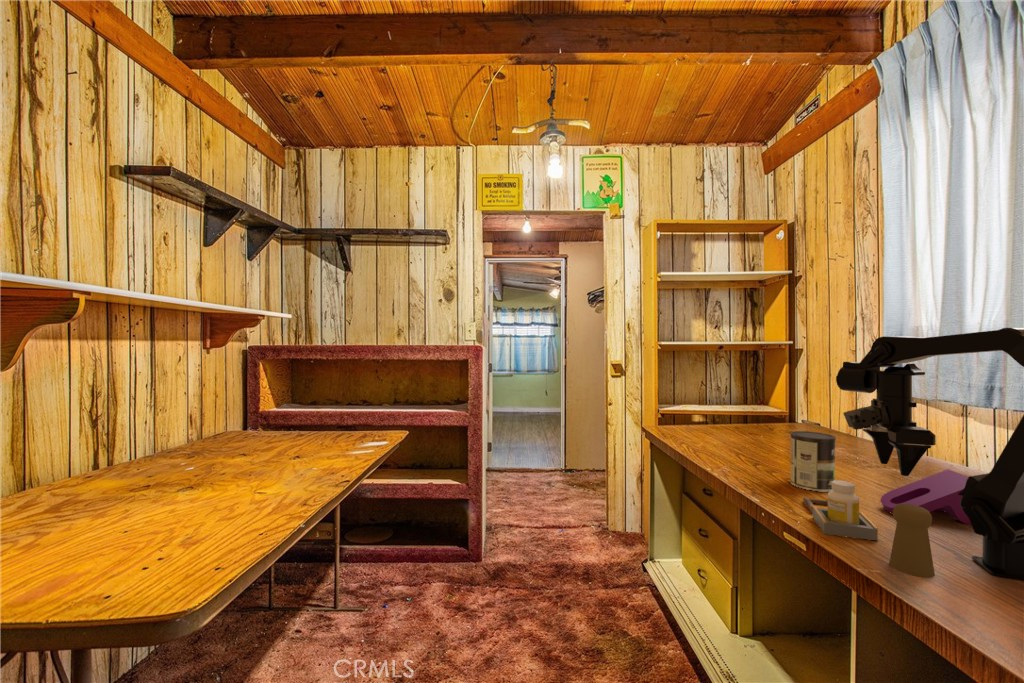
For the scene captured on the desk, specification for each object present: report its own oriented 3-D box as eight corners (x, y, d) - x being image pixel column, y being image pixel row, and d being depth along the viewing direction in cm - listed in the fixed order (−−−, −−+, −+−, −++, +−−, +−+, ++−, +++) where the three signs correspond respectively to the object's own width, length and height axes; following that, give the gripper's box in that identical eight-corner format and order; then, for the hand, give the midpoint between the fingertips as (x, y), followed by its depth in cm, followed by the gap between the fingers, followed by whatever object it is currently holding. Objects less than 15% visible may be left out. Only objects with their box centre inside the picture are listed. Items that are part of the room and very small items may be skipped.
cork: (912, 559, 82) (912, 499, 82) (945, 577, 76) (945, 512, 76) (880, 560, 82) (880, 500, 82) (910, 577, 76) (911, 513, 76)
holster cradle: (854, 518, 101) (854, 511, 101) (811, 513, 104) (811, 506, 104) (843, 506, 108) (843, 500, 108) (803, 501, 111) (803, 495, 111)
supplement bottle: (852, 525, 97) (852, 480, 97) (864, 536, 92) (864, 488, 92) (823, 522, 99) (823, 478, 99) (833, 532, 94) (833, 485, 93)
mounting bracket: (916, 548, 100) (1001, 517, 97) (898, 513, 100) (982, 482, 97) (888, 530, 109) (965, 501, 106) (871, 497, 109) (947, 469, 107)
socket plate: (877, 541, 90) (877, 527, 90) (824, 534, 93) (824, 521, 93) (861, 523, 98) (861, 511, 98) (812, 517, 101) (812, 505, 101)
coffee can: (830, 483, 125) (831, 432, 125) (839, 494, 116) (839, 440, 116) (787, 478, 130) (788, 429, 130) (792, 489, 121) (792, 436, 120)
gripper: (833, 389, 106) (833, 455, 106) (866, 399, 89) (866, 478, 89) (890, 391, 103) (890, 459, 103) (937, 402, 85) (937, 484, 85)
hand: (893, 469), depth 95 cm, fingers open, 9 cm apart
